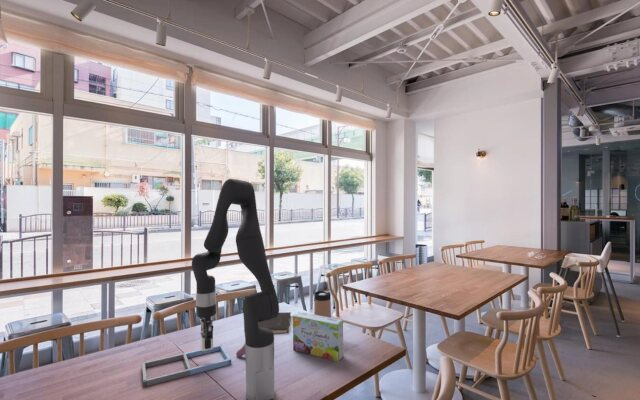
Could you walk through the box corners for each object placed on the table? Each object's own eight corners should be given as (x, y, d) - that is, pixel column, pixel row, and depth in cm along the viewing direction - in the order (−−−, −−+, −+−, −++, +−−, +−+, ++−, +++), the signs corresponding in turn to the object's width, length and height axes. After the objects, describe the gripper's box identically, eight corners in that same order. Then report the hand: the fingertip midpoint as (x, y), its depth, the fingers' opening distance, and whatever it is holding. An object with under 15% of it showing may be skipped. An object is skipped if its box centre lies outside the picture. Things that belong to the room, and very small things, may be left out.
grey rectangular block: (213, 348, 131) (212, 333, 131) (202, 351, 129) (202, 335, 129) (210, 344, 134) (210, 330, 134) (200, 347, 132) (200, 332, 132)
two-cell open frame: (231, 364, 129) (231, 359, 129) (143, 386, 114) (143, 381, 114) (221, 348, 142) (221, 344, 142) (142, 367, 127) (141, 362, 127)
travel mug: (316, 341, 149) (316, 296, 148) (312, 334, 156) (312, 291, 156) (333, 338, 151) (332, 294, 150) (328, 332, 158) (327, 290, 158)
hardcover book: (290, 316, 181) (290, 312, 181) (287, 334, 158) (287, 329, 158) (261, 317, 180) (261, 312, 180) (253, 334, 157) (253, 330, 157)
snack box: (292, 351, 140) (291, 315, 139) (299, 345, 144) (298, 310, 144) (338, 362, 130) (338, 323, 129) (344, 356, 135) (343, 318, 134)
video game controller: (244, 361, 134) (251, 346, 133) (234, 355, 135) (241, 341, 134) (253, 350, 144) (260, 336, 143) (244, 345, 144) (251, 331, 144)
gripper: (220, 306, 127) (220, 351, 127) (212, 296, 139) (212, 337, 140) (199, 310, 123) (200, 356, 124) (193, 299, 136) (193, 341, 136)
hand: (206, 345), depth 132 cm, fingers closed on grey rectangular block, 4 cm apart
